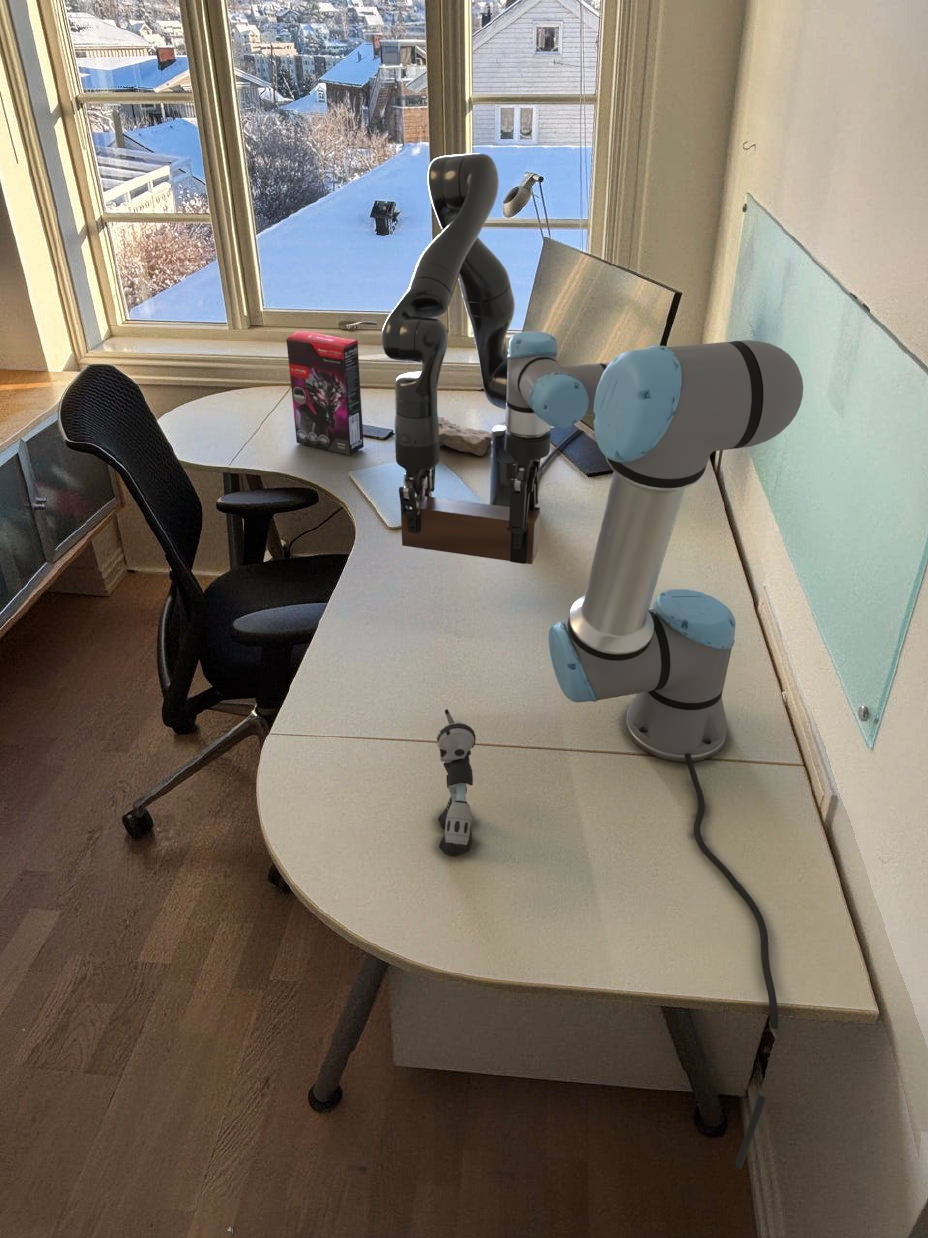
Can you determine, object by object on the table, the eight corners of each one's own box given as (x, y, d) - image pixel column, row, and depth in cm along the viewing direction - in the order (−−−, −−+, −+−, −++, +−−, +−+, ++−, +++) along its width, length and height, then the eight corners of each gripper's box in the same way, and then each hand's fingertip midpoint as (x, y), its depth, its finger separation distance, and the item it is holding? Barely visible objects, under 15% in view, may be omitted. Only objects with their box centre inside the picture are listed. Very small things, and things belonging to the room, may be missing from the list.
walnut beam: (532, 564, 161) (534, 524, 157) (401, 545, 166) (400, 505, 162) (537, 551, 165) (540, 511, 161) (410, 533, 170) (409, 493, 166)
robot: (478, 890, 117) (481, 774, 106) (439, 891, 117) (438, 775, 106) (469, 781, 133) (471, 671, 122) (436, 782, 133) (434, 671, 122)
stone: (397, 439, 228) (402, 416, 226) (416, 430, 242) (421, 408, 239) (477, 464, 225) (483, 440, 222) (491, 454, 238) (497, 431, 236)
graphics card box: (294, 443, 234) (283, 336, 218) (310, 434, 239) (300, 328, 224) (350, 457, 227) (343, 347, 212) (366, 447, 232) (360, 339, 217)
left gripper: (425, 455, 150) (427, 546, 159) (450, 423, 161) (450, 510, 171) (381, 450, 151) (386, 540, 161) (409, 418, 163) (411, 504, 172)
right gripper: (539, 453, 142) (531, 582, 155) (561, 413, 157) (552, 533, 170) (492, 448, 144) (488, 576, 157) (518, 408, 159) (512, 528, 171)
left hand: (419, 524), depth 166 cm, fingers closed on walnut beam, 5 cm apart
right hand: (521, 553), depth 163 cm, fingers closed on walnut beam, 5 cm apart
